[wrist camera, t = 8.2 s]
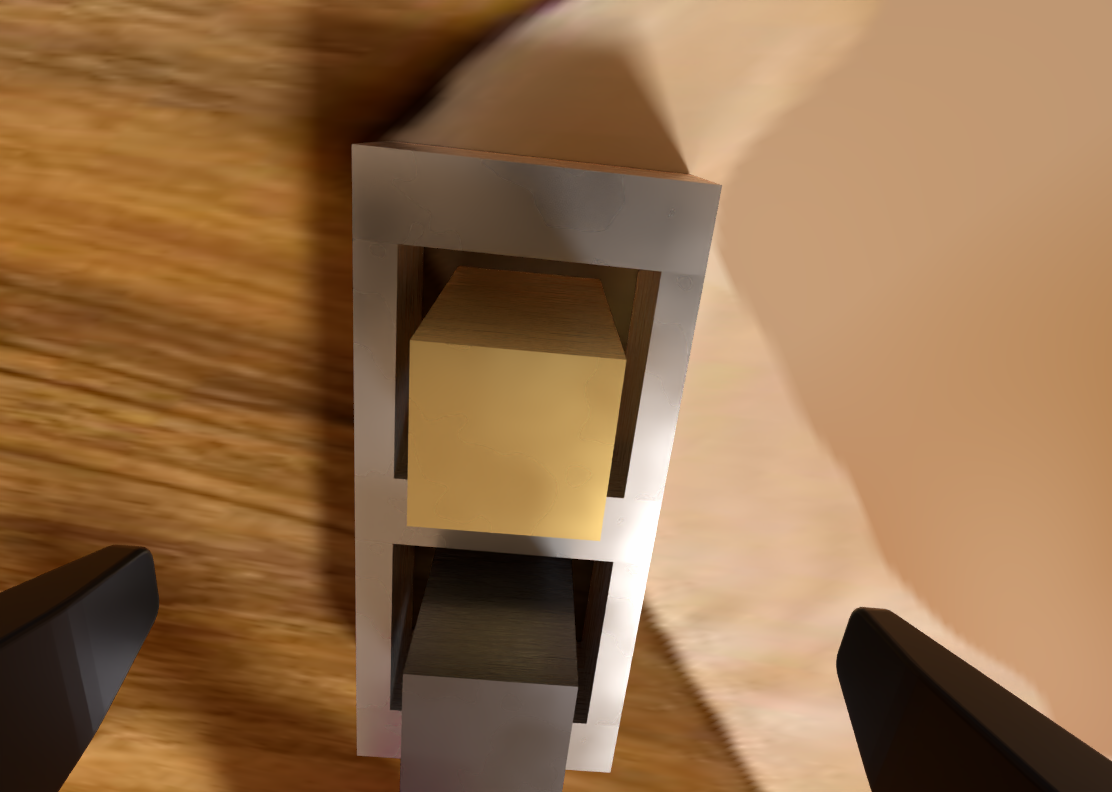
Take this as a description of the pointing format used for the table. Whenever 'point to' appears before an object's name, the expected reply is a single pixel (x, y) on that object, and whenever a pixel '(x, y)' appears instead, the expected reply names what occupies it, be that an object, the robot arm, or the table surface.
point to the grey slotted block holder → (494, 558)
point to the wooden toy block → (514, 405)
